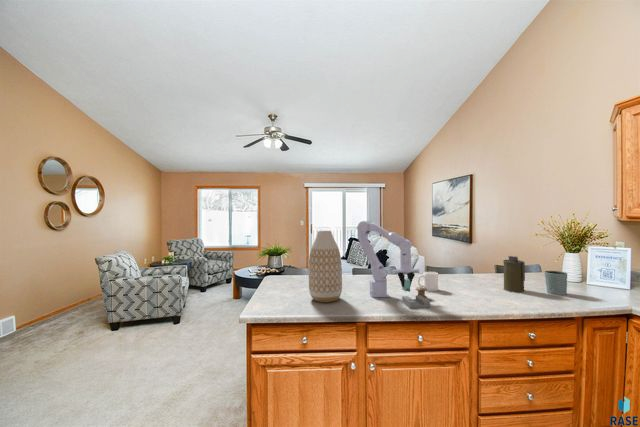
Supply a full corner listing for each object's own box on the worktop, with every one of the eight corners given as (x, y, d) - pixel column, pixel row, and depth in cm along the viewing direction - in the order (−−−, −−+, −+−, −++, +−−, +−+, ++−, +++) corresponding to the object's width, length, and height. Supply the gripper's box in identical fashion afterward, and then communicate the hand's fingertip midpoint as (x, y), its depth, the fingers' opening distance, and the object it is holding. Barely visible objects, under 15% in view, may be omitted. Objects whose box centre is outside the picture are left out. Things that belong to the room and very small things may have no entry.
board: (409, 308, 143) (409, 302, 143) (402, 302, 153) (402, 296, 153) (429, 307, 144) (429, 301, 144) (421, 301, 154) (421, 295, 154)
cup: (440, 291, 172) (440, 274, 172) (420, 291, 172) (419, 274, 172) (435, 287, 180) (434, 271, 180) (415, 287, 180) (415, 271, 180)
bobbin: (418, 299, 157) (418, 290, 157) (414, 296, 163) (413, 287, 163) (429, 299, 157) (428, 289, 157) (424, 295, 163) (424, 287, 163)
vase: (340, 305, 149) (338, 232, 149) (305, 303, 153) (304, 232, 153) (344, 295, 167) (343, 229, 167) (313, 294, 171) (312, 230, 171)
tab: (406, 292, 153) (406, 281, 153) (402, 289, 160) (402, 278, 160) (412, 292, 153) (412, 281, 153) (407, 289, 160) (407, 278, 160)
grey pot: (568, 296, 157) (568, 274, 157) (544, 294, 163) (544, 272, 163) (567, 292, 165) (566, 271, 165) (544, 289, 171) (544, 269, 171)
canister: (499, 289, 174) (499, 256, 174) (510, 287, 178) (509, 254, 178) (518, 293, 164) (517, 258, 164) (529, 291, 168) (528, 257, 168)
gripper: (395, 263, 154) (395, 288, 154) (421, 262, 155) (421, 287, 155) (391, 261, 161) (391, 285, 161) (416, 260, 162) (416, 284, 162)
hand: (406, 286), depth 158 cm, fingers closed on tab, 3 cm apart
